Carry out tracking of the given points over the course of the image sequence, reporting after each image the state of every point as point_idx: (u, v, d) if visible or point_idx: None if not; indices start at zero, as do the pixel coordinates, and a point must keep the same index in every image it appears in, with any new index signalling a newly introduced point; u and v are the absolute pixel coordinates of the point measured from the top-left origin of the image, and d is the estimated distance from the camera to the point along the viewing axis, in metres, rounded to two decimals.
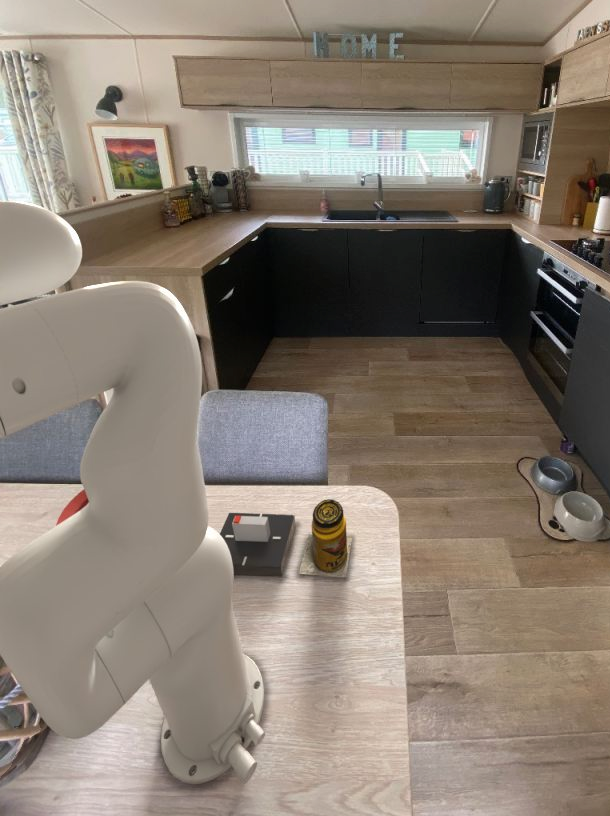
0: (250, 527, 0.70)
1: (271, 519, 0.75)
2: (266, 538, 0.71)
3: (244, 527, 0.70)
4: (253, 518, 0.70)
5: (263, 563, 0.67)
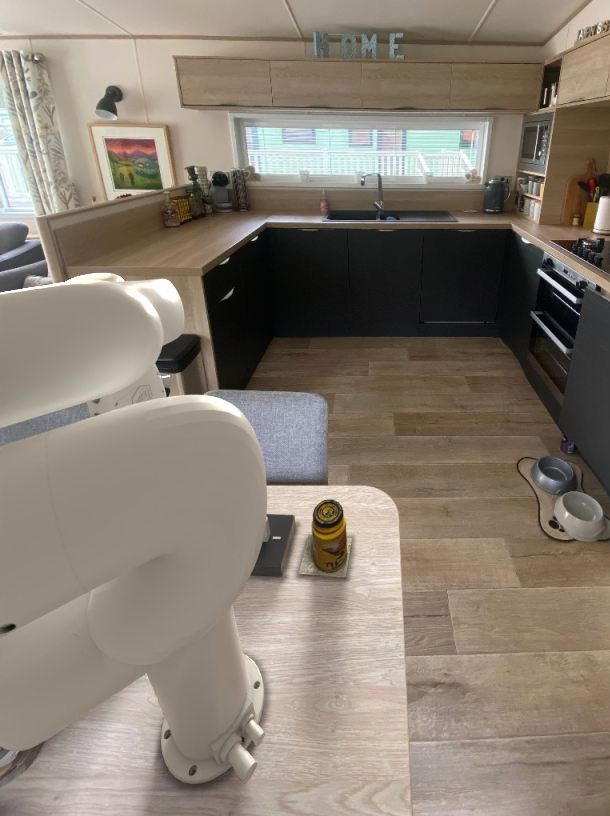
0: None
1: (271, 519, 0.75)
2: (266, 538, 0.71)
3: None
4: None
5: (263, 563, 0.67)
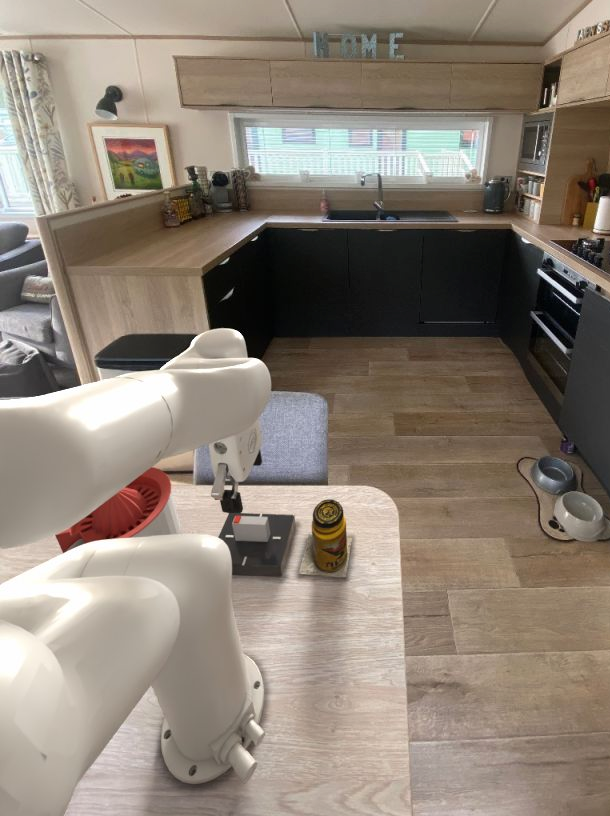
0: (250, 527, 0.70)
1: (271, 519, 0.75)
2: (266, 538, 0.71)
3: (244, 527, 0.70)
4: (253, 518, 0.70)
5: (263, 563, 0.67)
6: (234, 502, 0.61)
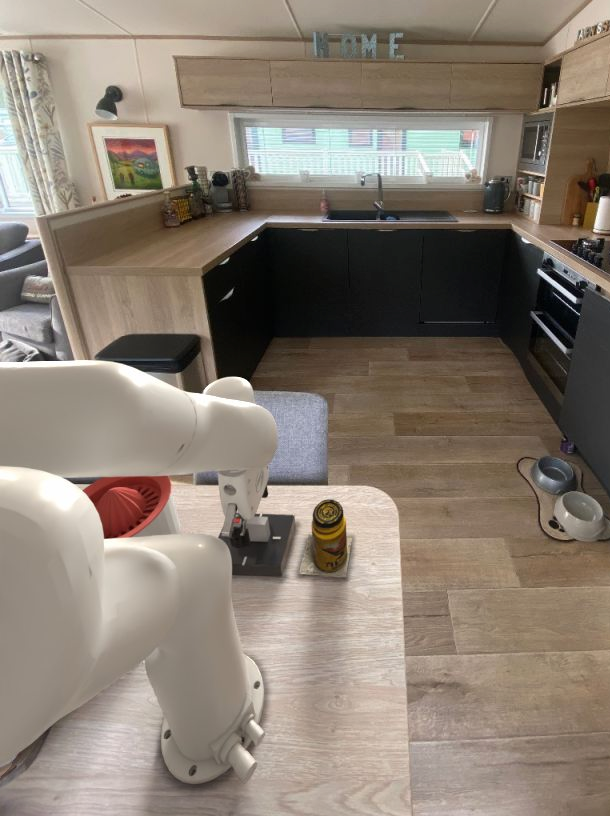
0: (250, 527, 0.70)
1: (271, 519, 0.75)
2: (266, 538, 0.71)
3: None
4: (253, 518, 0.70)
5: (263, 563, 0.67)
6: (242, 538, 0.65)
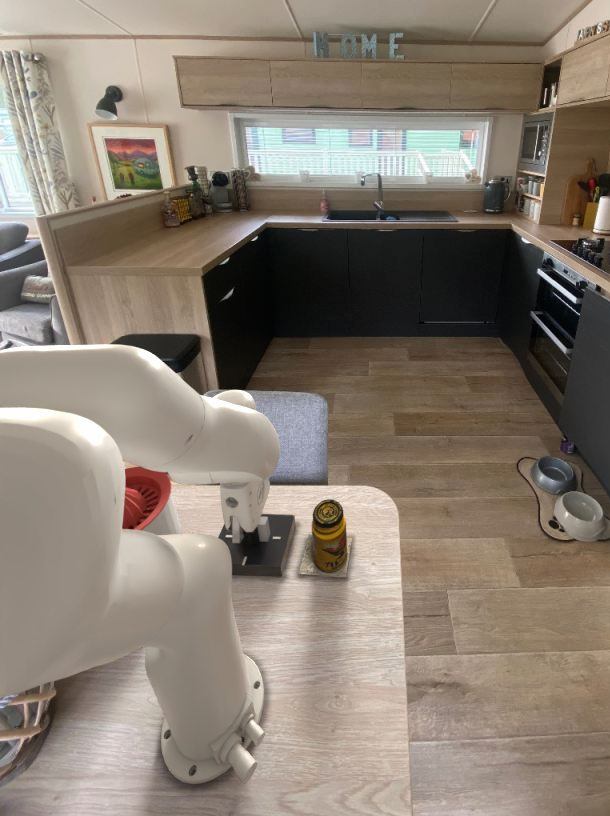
0: None
1: (271, 519, 0.75)
2: (266, 538, 0.71)
3: None
4: None
5: (263, 563, 0.67)
6: (252, 535, 0.69)
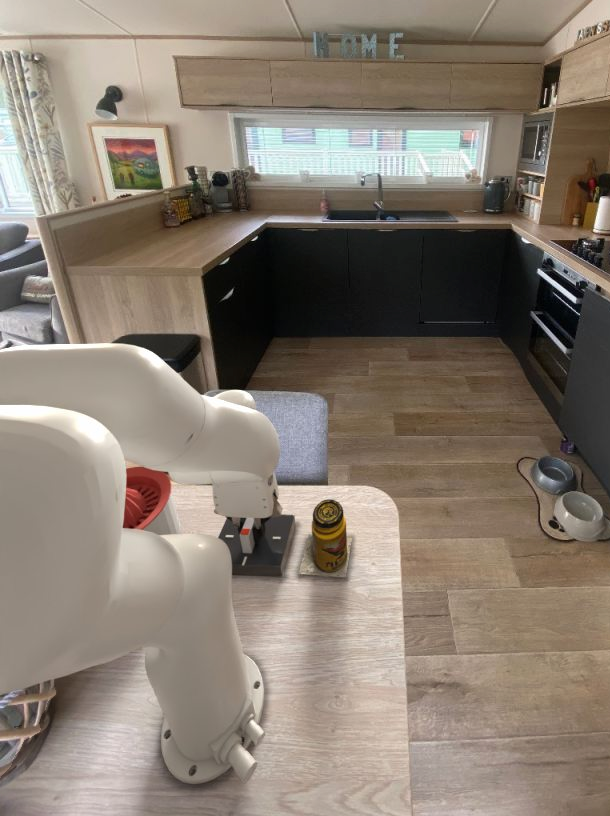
0: None
1: (271, 519, 0.75)
2: None
3: None
4: None
5: (263, 563, 0.67)
6: None
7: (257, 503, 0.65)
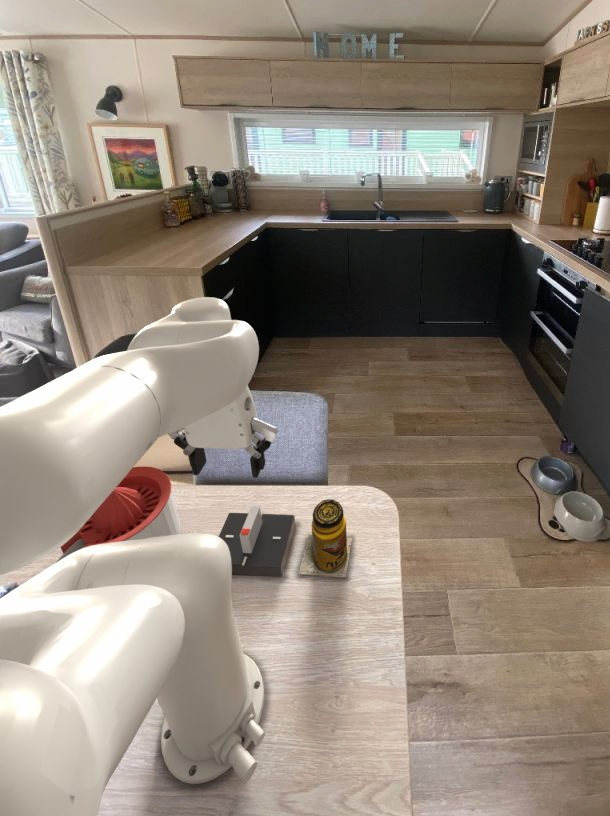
0: (255, 522, 0.71)
1: (271, 519, 0.75)
2: (261, 520, 0.74)
3: (253, 527, 0.69)
4: (249, 517, 0.70)
5: (263, 563, 0.67)
6: None
7: (232, 430, 0.58)
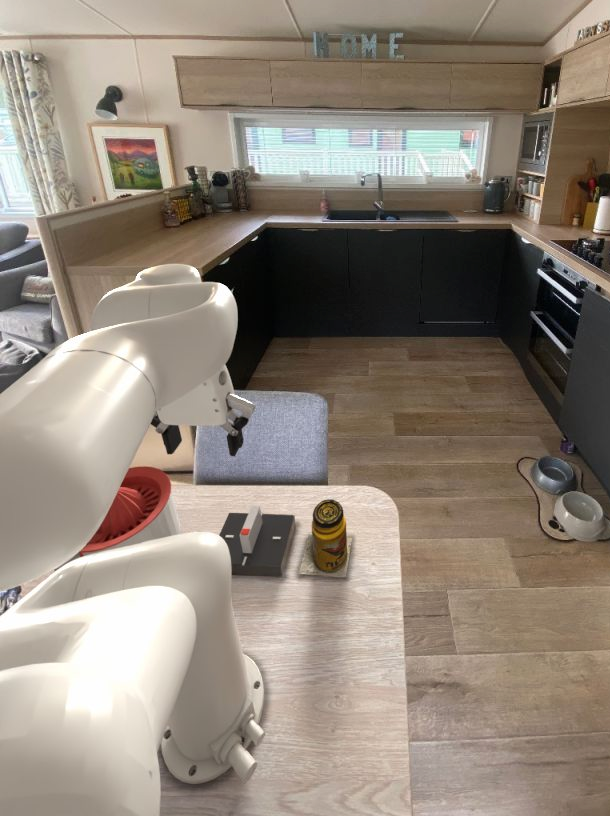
0: (255, 522, 0.71)
1: (271, 519, 0.75)
2: (261, 520, 0.74)
3: (253, 527, 0.69)
4: (249, 517, 0.70)
5: (263, 563, 0.67)
6: None
7: (206, 405, 0.54)
